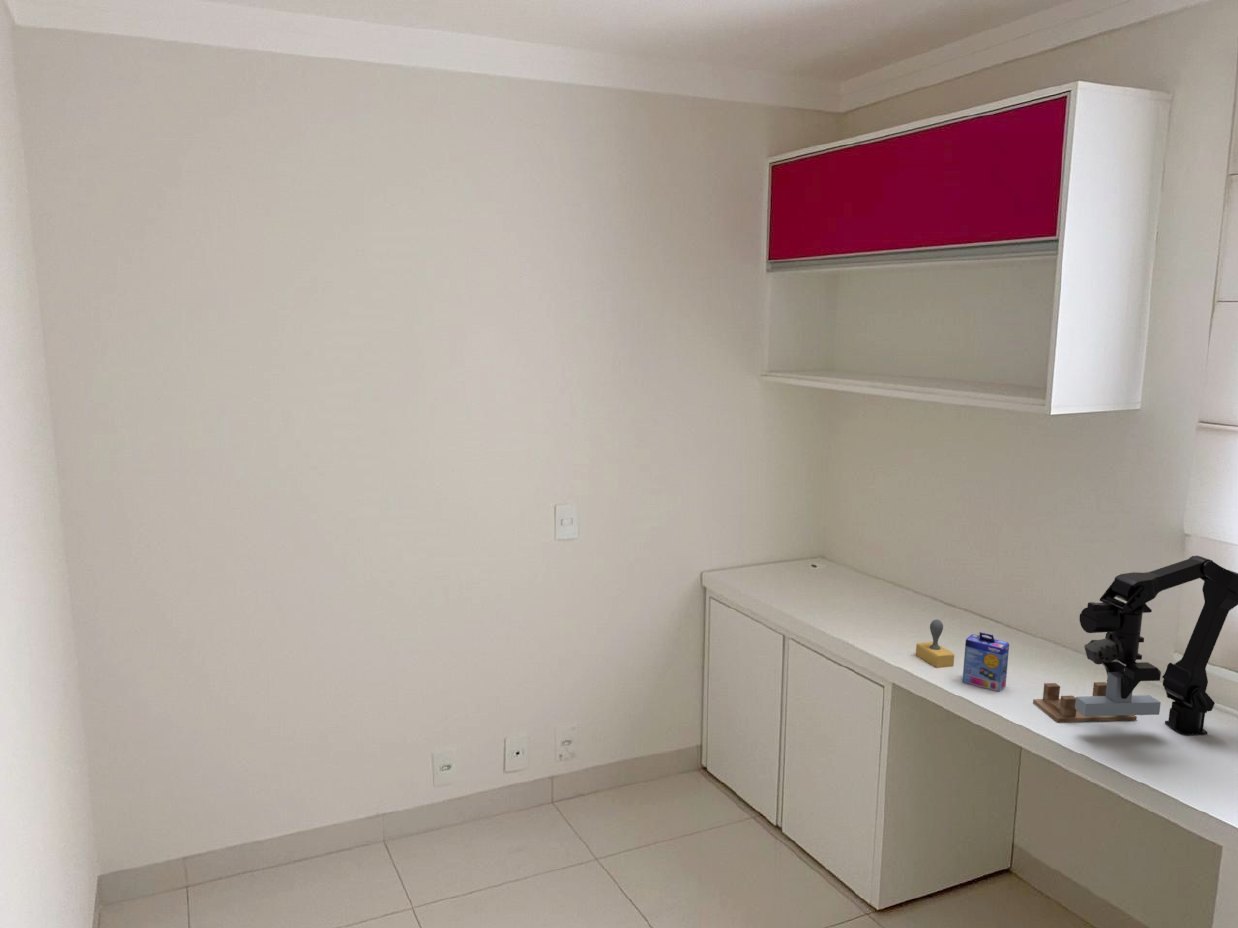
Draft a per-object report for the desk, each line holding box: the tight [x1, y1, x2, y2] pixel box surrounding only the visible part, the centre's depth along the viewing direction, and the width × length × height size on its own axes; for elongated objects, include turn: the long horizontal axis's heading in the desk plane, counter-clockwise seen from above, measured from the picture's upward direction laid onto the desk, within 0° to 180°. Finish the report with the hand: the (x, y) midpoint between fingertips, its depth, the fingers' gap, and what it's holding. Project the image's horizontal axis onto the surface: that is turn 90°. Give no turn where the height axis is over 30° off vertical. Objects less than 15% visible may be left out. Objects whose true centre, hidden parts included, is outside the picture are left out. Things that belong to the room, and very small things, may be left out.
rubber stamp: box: [915, 619, 955, 669], centre depth 258 cm, size 10×6×12 cm, turn 17°
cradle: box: [1032, 681, 1138, 723], centre depth 227 cm, size 20×11×6 cm, turn 95°
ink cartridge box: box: [961, 631, 1010, 693], centre depth 242 cm, size 10×6×14 cm, turn 51°
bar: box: [1075, 672, 1162, 716], centre depth 213 cm, size 18×4×9 cm, turn 95°
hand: (1118, 694), depth 213 cm, fingers closed on bar, 3 cm apart
